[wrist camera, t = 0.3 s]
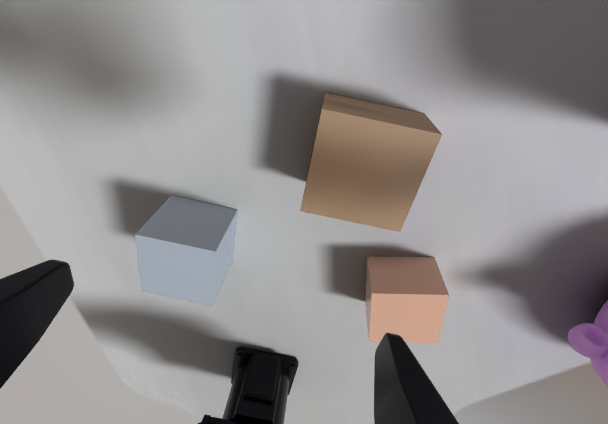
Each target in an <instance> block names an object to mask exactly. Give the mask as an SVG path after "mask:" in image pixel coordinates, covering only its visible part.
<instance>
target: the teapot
mask: <svg viewBox="0 0 608 424" xmlns="http://www.w3.org/2000/svg"><path fill="white" fill-rule="evenodd" d="M568 341H569V344H570V346H571V347H572V348H573V349H574V350H575V351H577V352H578V353H580V354H582V355H583V356H586V357H589V358H590V360H591V363H592V366H593V368H594V369H595V371H596V372H597V374H598V375H599V376H600V377H601V379H602V380H603V381H604V383H605V384H606V385H607V386H608V300H607V301H606V303H605V304H604V305H603V306H602V308H601V309H600V311H599V312H598V314H597V316H596V319H595V321H594V324H591V323H583V324H579V325H576V326H575V327H573V328H572V329H570V330H569V332H568Z"/></svg>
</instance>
